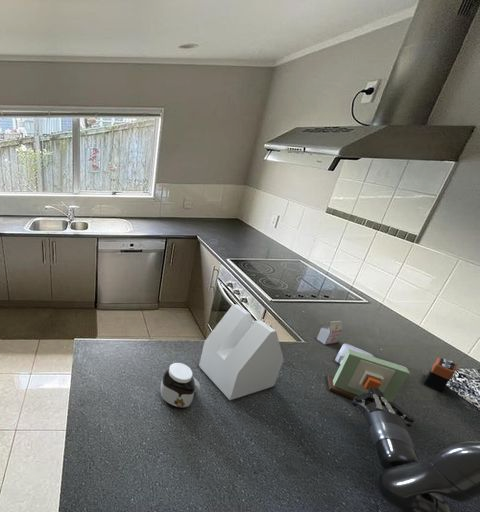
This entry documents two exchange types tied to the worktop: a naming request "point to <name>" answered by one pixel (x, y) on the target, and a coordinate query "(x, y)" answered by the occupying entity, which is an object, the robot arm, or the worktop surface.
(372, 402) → the robot arm
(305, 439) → the worktop surface
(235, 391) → the white grooved wedge block
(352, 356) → the wall panel
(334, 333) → the small printed carton
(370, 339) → the worktop surface
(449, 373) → the battery
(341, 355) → the charger
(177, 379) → the spread jar
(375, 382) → the switch
